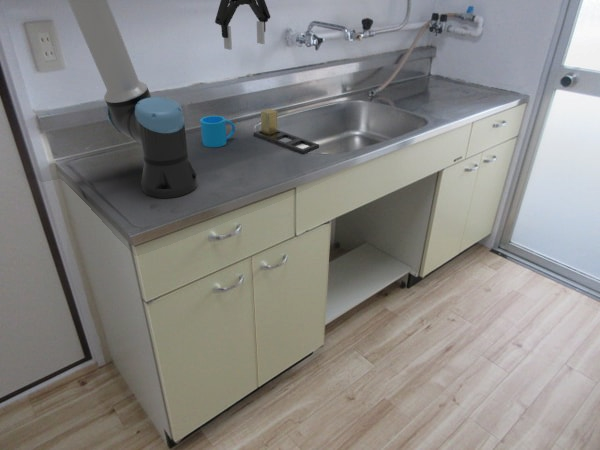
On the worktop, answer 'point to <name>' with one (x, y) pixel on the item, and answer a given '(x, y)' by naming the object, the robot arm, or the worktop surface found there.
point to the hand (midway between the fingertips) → (245, 46)
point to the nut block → (269, 122)
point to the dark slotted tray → (290, 144)
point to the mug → (215, 131)
